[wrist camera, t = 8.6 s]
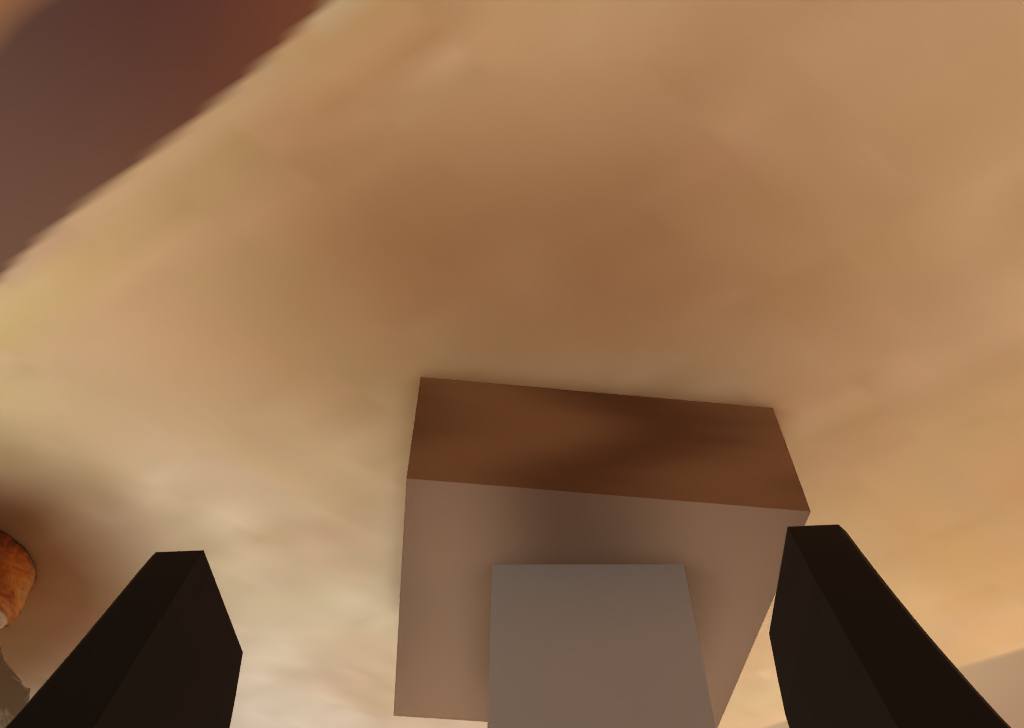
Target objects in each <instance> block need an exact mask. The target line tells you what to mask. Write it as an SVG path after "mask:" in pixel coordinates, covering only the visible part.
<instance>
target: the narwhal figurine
mask: <svg viewBox="0 0 1024 728" xmlns="http://www.w3.org/2000/svg"><path fill="white" fill-rule="evenodd" d="M35 578H36V576H35V568H34V566H33V563H32V562H31V559H30V557H29V556H28V554H27V552H26V551H25V550H24V549H23V548H22V547H21V546H20V545H18V544H17V543H15V542H14V540H13V539H12V538H11V537H9V536H8V535H6V534H4V533H2V532H0V629H1V628H4V627H8V626H10V625H11V624H12V623H13V621H14V620H15V619H16V617H17V616H18V614H20V611H21V609H22V607H23V606H24V603H25V600H26V597H27V595H28V593H29V591H30V589H31V587H32V585H33V584H34V582H35ZM29 694H30V689H29V688H26V687H25V686H23V685H22V682H21V680H20V679H19V678H18V677H17V676H16V674H15V673H14V672H13V671H12V670H11V668H10V667H9V666H8V665H7V664H6V662H5V661H4V660H3V656H2V652H1V648H0V728H5V727H6V726H7V725H8V724H9V723H10V722H11V721H12V720H13V719H14V718H15V717H16V715H17V714H18V713H19V712H20V711H21V710H22V709H23V708H24V707H25V705H26V704H27V703H28V701H29V696H30V695H29Z"/></svg>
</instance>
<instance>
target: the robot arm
mask: <svg viewBox="0 0 1024 728" xmlns="http://www.w3.org/2000/svg"><path fill="white" fill-rule="evenodd" d="M769 635H770V640H771V645H772V651H773V656H774V661H775V666H776V671H777V677H778V682H779V686H780V691H781V696H782V701H783V705H784V710H785V715H786V718H787V721H788V725H789V728H1011V727H1010V726H1009V725H1008V724H1007V723H1006V722H1005V721H1004V720H1003V719H1002V718H1001V717H1000V716H999V715H998V713H996V711H995V710H994V709H993V708H992V707H991V706H990V705H989V704H988V703H987V702H986V700H985V699H984V698H983V697H982V696H981V695H980V694H979V693H978V692H977V691H976V690H975V688H974V687H973V686H972V685H971V684H970V683H969V682H968V680H967V679H966V678H965V677H964V676H963V675H962V674H961V672H960V671H959V670H958V669H957V668H956V667H955V666H954V664H953V663H952V662H951V661H950V660H949V659H948V658H947V656H946V655H945V654H944V653H943V652H942V651H941V650H940V648H939V647H938V646H937V645H936V644H935V643H934V642H933V640H932V639H931V638H930V637H929V636H928V634H927V633H926V632H925V631H924V630H923V628H922V627H921V626H920V625H919V624H918V622H917V621H916V620H915V619H914V618H913V616H912V615H911V614H910V613H909V611H908V610H907V609H906V608H905V606H904V605H903V604H902V603H901V602H900V600H899V599H898V598H897V597H896V595H895V594H894V593H893V592H892V590H891V589H890V588H889V587H888V585H887V584H886V583H885V582H884V580H883V579H882V578H881V577H880V575H879V574H878V573H877V571H876V570H875V569H874V568H873V566H872V565H871V564H870V562H869V561H868V560H867V558H866V557H865V556H864V555H863V553H862V552H861V551H860V549H859V548H858V547H857V545H856V544H855V543H854V541H853V540H852V539H851V537H850V536H849V535H848V533H847V532H846V531H845V530H844V529H843V528H842V527H840V526H839V525H816V526H791V527H787V532H786V538H785V544H784V550H783V556H782V561H781V567H780V573H779V579H778V585H777V591H776V596H775V602H774V608H773V614H772V620H771V626H770V632H769ZM242 654H243V652H242V649H241V647H240V644H239V642H238V639H237V636H236V634H235V631H234V629H233V626H232V623H231V621H230V618H229V615H228V613H227V610H226V608H225V605H224V602H223V600H222V597H221V595H220V592H219V589H218V587H217V584H216V582H215V579H214V576H213V574H212V571H211V569H210V566H209V563H208V561H207V558H206V556H205V553H204V550H202V551H178V552H156V553H155V554H154V555H153V556H152V557H151V558H150V559H149V560H148V561H147V563H146V564H145V565H144V566H143V567H142V568H141V570H140V571H139V572H138V573H137V574H136V576H135V577H134V578H133V579H132V580H131V581H130V583H129V584H128V585H127V586H126V588H125V589H124V590H123V591H122V592H121V594H120V595H119V596H118V597H117V598H116V600H115V601H114V602H113V603H112V604H111V606H110V607H109V608H108V609H107V610H106V612H105V613H104V614H103V615H102V617H101V618H100V619H99V620H98V621H97V623H96V624H95V625H94V626H93V627H92V629H91V630H90V631H89V632H88V633H87V634H86V636H85V637H84V638H83V639H82V640H81V642H80V643H79V644H78V645H77V646H76V648H75V649H74V650H73V651H72V652H71V654H70V655H69V656H68V657H67V658H66V659H65V660H64V662H63V663H62V664H61V665H60V666H59V667H58V669H57V670H56V671H55V672H54V673H53V674H52V675H51V677H50V678H49V679H48V680H47V681H46V682H45V684H44V685H43V686H42V687H41V688H40V689H39V690H38V692H37V693H36V694H35V695H34V696H33V697H32V698H31V700H30V701H29V702H28V703H27V704H26V705H25V707H24V708H23V709H22V710H21V711H20V712H19V713H18V714H17V715H16V717H15V718H14V719H13V720H12V721H11V722H10V723H9V724H8V725H7V726H6V727H5V728H229V727H230V722H231V717H232V712H233V707H234V701H235V696H236V690H237V684H238V678H239V672H240V666H241V660H242Z"/></svg>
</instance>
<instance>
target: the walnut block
mask: <svg viewBox="0 0 1024 728" xmlns="http://www.w3.org/2000/svg"><path fill="white" fill-rule="evenodd" d="M810 512H811V511H810V509H809V506H808V503H807V501H806V498H805V495H804V492H803V490H802V487H801V484H800V481H799V479H798V476H797V473H796V470H795V468H794V465H793V462H792V459H791V457H790V454H789V451H788V449H787V446H786V443H785V440H784V438H783V435H782V432H781V429H780V427H779V424H778V421H777V418H776V416H775V413H774V410H773V408H764V407H753V406H741V405H730V404H719V403H707V402H696V401H685V400H673V399H662V398H651V397H639V396H628V395H617V394H605V393H594V392H582V391H571V390H560V389H548V388H537V387H526V386H514V385H503V384H492V383H480V382H469V381H457V380H446V379H435V378H423V377H421V380H420V387H419V395H418V402H417V409H416V416H415V423H414V430H413V437H412V444H411V451H410V458H409V465H408V472H407V480H406V499H405V517H404V535H403V553H402V572H401V590H400V608H399V627H398V645H397V663H396V682H395V700H394V716H407V717H423V718H438V719H453V720H468V721H484V722H488V693H489V655H490V617H491V579H492V564H684V569H685V574H686V579H687V584H688V589H689V594H690V599H691V604H692V609H693V615H694V620H695V625H696V630H697V635H698V640H699V645H700V650H701V655H702V660H703V665H704V670H705V675H706V680H707V686H708V691H709V696H710V701H711V706H712V711H713V716H714V721H715V726H716V728H717V727H718V725H719V723H720V720H721V718H722V716H723V713H724V711H725V709H726V706H727V704H728V702H729V700H730V697H731V695H732V693H733V690H734V688H735V686H736V683H737V681H738V679H739V676H740V674H741V672H742V669H743V667H744V665H745V662H746V660H747V658H748V655H749V653H750V651H751V648H752V646H753V644H754V642H755V639H756V637H757V635H758V632H759V630H760V628H761V625H762V623H763V621H764V618H765V616H766V614H767V611H768V609H769V607H770V604H771V602H772V600H773V597H774V595H775V593H776V590H777V585H778V579H779V573H780V567H781V561H782V556H783V550H784V544H785V538H786V532H787V527H791V526H805V523H806V521H807V519H808V516H809V514H810Z"/></svg>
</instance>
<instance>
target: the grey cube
mask: <svg viewBox="0 0 1024 728" xmlns="http://www.w3.org/2000/svg"><path fill="white" fill-rule="evenodd" d="M488 728H716V726H715V721H714V716H713V711H712V706H711V701H710V696H709V691H708V686H707V680H706V675H705V670H704V665H703V660H702V655H701V650H700V645H699V640H698V635H697V630H696V625H695V620H694V615H693V609H692V604H691V599H690V594H689V589H688V584H687V579H686V574H685V569H684V564H492V579H491V617H490V655H489V693H488Z"/></svg>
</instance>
